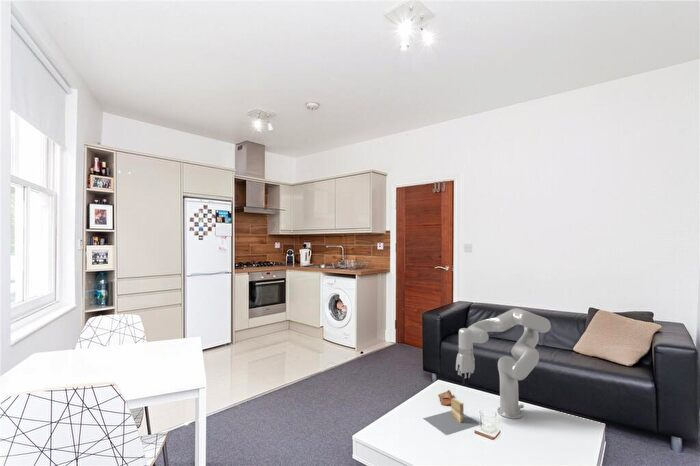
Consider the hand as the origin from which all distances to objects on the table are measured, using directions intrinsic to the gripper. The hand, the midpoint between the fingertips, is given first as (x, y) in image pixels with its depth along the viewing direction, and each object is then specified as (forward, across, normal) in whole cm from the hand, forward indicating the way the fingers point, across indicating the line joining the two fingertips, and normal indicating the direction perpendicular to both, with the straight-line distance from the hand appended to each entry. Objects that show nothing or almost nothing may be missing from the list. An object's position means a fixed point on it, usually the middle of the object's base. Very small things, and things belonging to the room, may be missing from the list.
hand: (465, 384), depth 194 cm
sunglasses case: (+19, -5, -21) cm, 29 cm away
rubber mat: (+18, +10, 0) cm, 21 cm away
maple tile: (+18, +6, 0) cm, 19 cm away
